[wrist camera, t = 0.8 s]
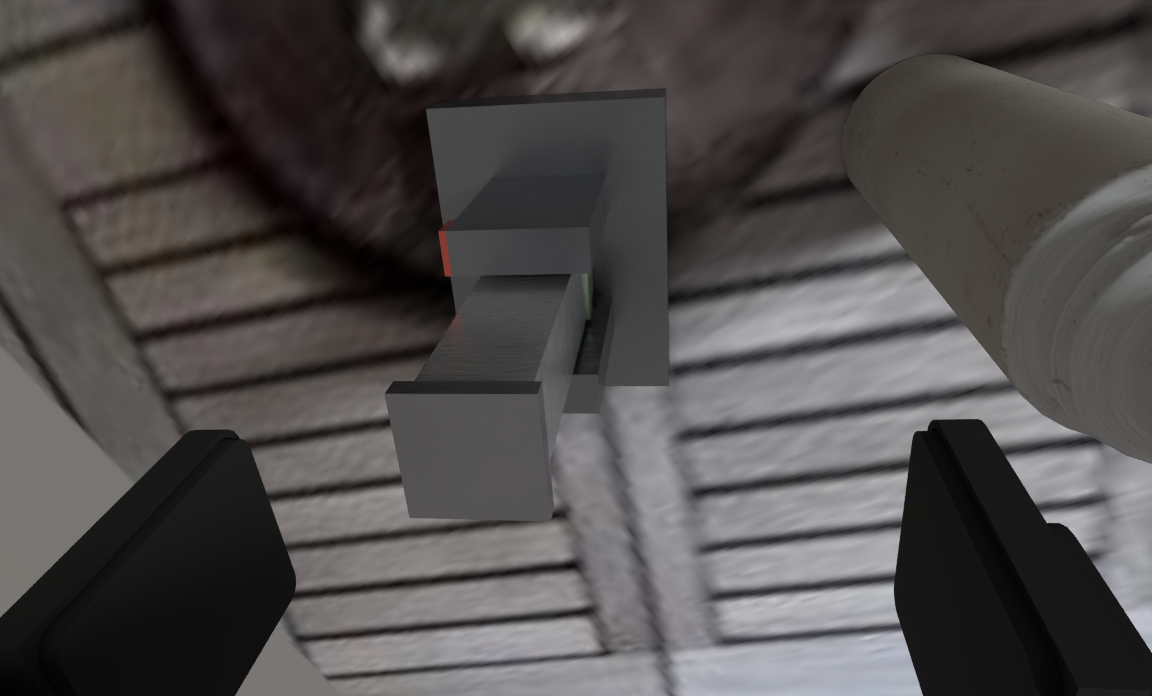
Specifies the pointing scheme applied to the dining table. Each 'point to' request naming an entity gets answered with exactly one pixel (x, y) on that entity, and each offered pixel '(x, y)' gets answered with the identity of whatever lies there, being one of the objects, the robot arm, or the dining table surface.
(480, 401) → the column
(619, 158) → the base
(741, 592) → the dining table surface
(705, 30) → the dining table surface
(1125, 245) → the thermos bottle
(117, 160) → the dining table surface
